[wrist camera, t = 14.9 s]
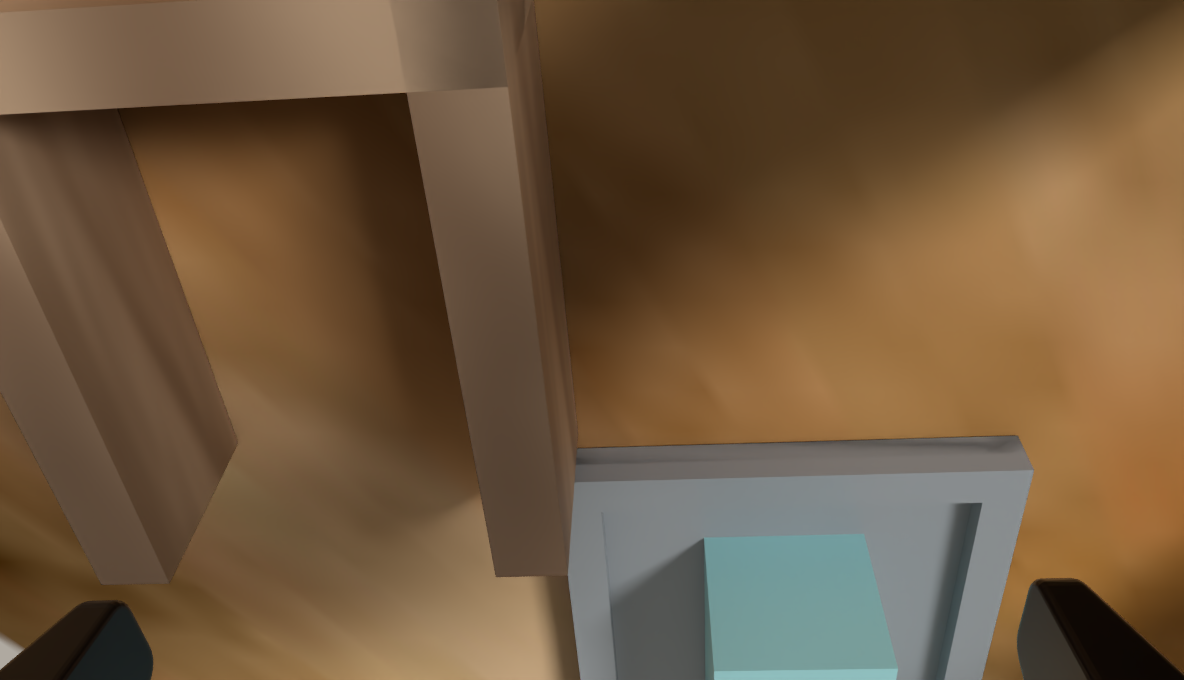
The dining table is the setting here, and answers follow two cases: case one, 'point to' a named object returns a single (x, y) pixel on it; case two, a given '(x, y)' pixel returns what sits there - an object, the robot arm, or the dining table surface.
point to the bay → (153, 291)
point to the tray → (788, 508)
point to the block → (794, 610)
